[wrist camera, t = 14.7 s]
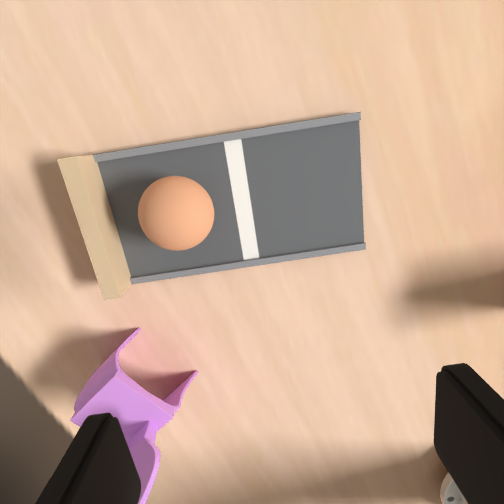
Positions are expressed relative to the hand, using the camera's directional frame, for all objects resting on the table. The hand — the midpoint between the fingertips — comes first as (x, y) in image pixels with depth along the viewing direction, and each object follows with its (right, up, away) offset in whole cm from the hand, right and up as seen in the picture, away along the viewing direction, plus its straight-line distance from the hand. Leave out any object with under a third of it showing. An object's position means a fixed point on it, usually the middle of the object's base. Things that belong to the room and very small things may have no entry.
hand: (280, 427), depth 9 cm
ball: (-7, +7, +14) cm, 17 cm away
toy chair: (-12, -7, +26) cm, 30 cm away
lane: (-3, +10, +20) cm, 23 cm away
